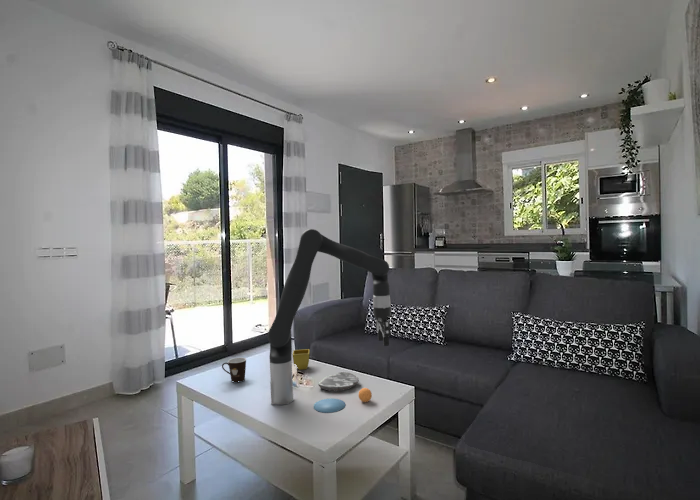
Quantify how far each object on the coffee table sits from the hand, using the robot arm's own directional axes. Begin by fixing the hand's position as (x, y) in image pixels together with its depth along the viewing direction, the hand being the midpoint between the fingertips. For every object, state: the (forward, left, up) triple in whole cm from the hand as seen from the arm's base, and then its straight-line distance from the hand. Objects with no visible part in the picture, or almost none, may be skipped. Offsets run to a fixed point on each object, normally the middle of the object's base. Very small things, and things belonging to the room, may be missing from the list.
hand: (383, 343), depth 164 cm
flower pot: (-34, +46, -23) cm, 61 cm away
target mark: (-25, -4, -23) cm, 34 cm away
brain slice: (-17, +16, -23) cm, 33 cm away
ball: (-10, -4, -20) cm, 23 cm away
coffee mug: (-67, +38, -23) cm, 80 cm away
